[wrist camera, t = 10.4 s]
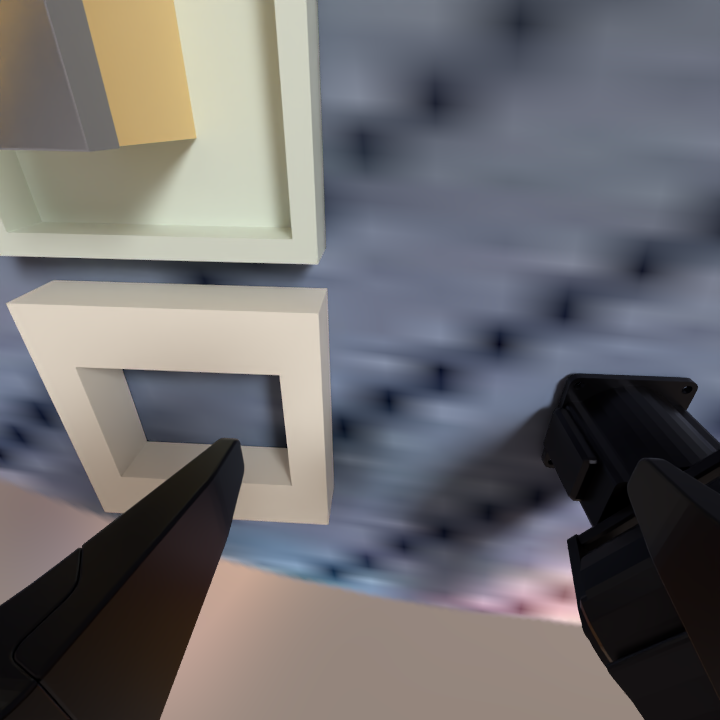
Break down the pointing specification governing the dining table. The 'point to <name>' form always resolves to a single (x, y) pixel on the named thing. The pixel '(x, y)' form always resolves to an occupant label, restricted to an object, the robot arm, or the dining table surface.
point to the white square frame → (192, 354)
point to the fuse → (91, 75)
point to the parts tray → (195, 157)
